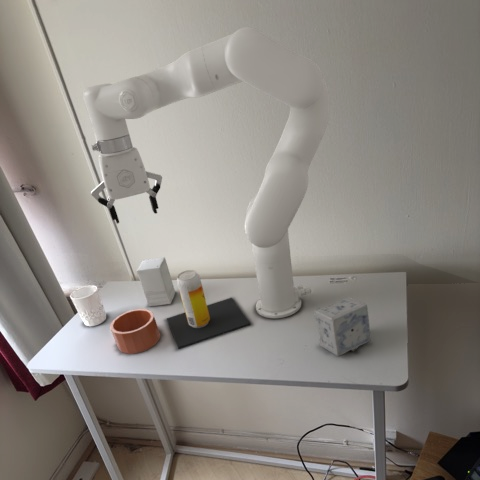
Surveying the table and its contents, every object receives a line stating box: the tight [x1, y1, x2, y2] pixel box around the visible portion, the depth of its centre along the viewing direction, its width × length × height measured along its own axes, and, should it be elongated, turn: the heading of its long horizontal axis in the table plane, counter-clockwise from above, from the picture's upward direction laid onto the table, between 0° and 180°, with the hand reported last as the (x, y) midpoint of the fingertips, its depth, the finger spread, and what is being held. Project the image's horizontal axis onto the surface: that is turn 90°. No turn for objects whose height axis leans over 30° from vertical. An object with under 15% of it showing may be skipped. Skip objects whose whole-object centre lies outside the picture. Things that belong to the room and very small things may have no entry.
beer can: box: [176, 269, 210, 328], centre depth 112 cm, size 6×6×15 cm
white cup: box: [69, 284, 107, 327], centre depth 125 cm, size 8×8×10 cm
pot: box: [109, 308, 161, 355], centre depth 113 cm, size 12×12×6 cm
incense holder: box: [314, 296, 372, 357], centre depth 96 cm, size 10×8×10 cm
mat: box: [166, 297, 251, 350], centre depth 116 cm, size 20×16×1 cm
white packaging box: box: [136, 256, 176, 307], centre depth 129 cm, size 7×7×13 cm
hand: (136, 217), depth 106 cm, fingers open, 9 cm apart
